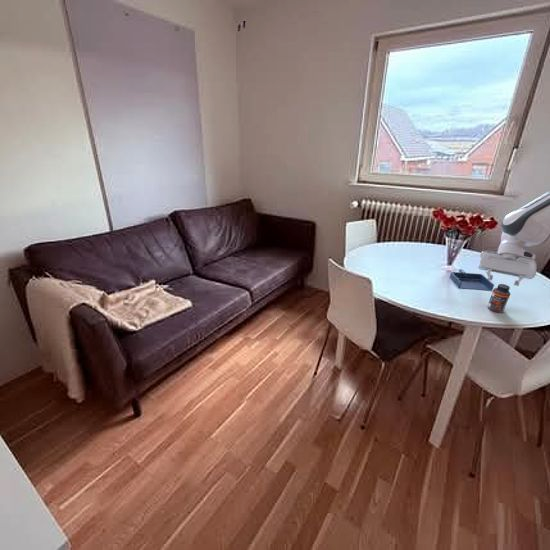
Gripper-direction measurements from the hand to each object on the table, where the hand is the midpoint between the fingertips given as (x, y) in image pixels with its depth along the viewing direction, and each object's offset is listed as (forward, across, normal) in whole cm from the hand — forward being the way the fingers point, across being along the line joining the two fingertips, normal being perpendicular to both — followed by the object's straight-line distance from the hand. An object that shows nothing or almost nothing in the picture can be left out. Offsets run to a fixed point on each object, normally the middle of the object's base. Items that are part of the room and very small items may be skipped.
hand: (502, 282), depth 132 cm
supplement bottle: (+12, 0, +4) cm, 12 cm away
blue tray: (-7, -12, +22) cm, 26 cm away
